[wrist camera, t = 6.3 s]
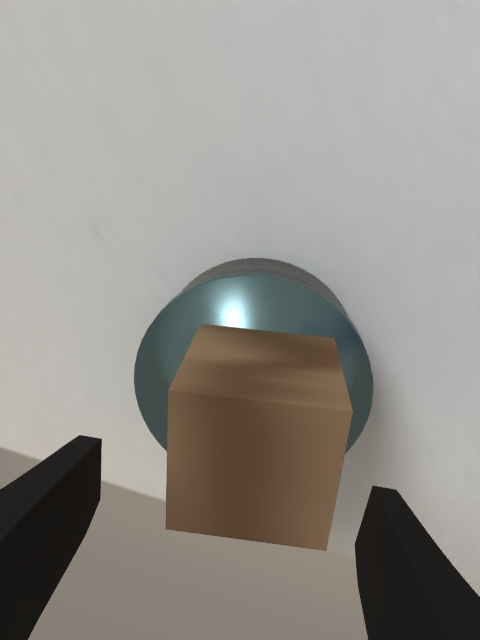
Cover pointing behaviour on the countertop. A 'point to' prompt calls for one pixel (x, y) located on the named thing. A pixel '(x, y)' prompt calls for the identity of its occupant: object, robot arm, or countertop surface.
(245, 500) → the walnut cube
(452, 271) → the countertop surface
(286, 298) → the grey tin
